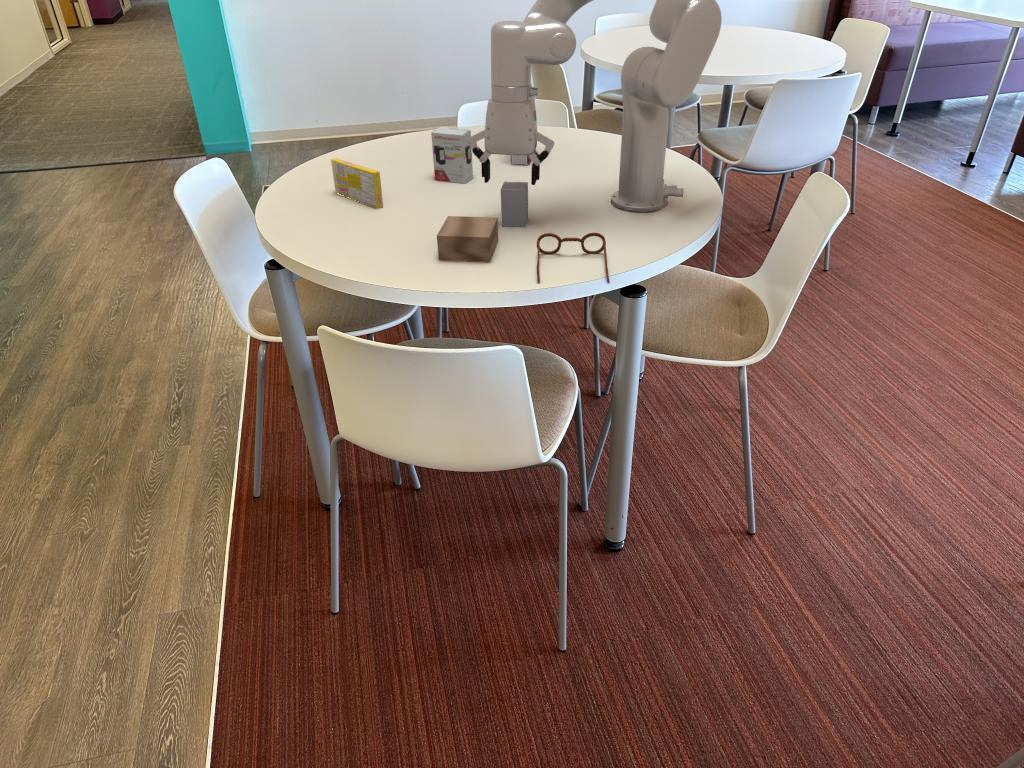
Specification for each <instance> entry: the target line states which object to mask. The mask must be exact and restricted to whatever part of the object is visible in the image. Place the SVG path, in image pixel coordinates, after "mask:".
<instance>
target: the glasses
mask: <svg viewBox="0 0 1024 768" xmlns="http://www.w3.org/2000/svg"><path fill="white" fill-rule="evenodd" d="M547 237H550V238H551V237H552V238H553V239H555V240H557V242H558V244H557V247H556V248H555V249H554V250H551V251H549V250H548V251H547V250H543V249H542V247H541V240H543V239H544V238H547ZM590 237H598V238H599V239H601V241H602V244H601V247H600V248H598V249H597V250H590V249H587V248H586V247H585V240H587V239H588V238H590ZM563 242H578V243H580V246H581V250H582V252H584V253H585V254H588V255H598V254H601V253H602V252H603V256H604V267H605V268H604V269H605V274H606V282H607V284H610V274H609V270H608V256H607V244H606V243H607V240H606V238H605V236H604V235H603V234H602V233H600V232H589V233H586V234H585V235H583V236H582V237H581V238H579V237H563V238H562V237H560V236H559V235H558V234H555V233H554V232H547V233H543V234H541V235H539V237H538V238H537V240H536V248H537V262H536V276H537V277H536V278H537V284H540V285H541V276H540V263H541V262H540V261H541V260H540V253H541V254H542V255H556V254H557V253H559V252H560V250H561V247H562V243H563Z"/></svg>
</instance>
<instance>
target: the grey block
mask: <svg viewBox="0 0 1024 768" xmlns="http://www.w3.org/2000/svg"><path fill="white" fill-rule="evenodd" d="M500 208H501V209H500V210H501V211H500V215H501V228H515V227H517V229H518V228H519V229H520V228H521V229H522V228H523V229H525V228H527V224H528V221H529V182H527V181H503V184H502V186H501V188H500Z"/></svg>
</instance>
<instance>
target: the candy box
mask: <svg viewBox="0 0 1024 768" xmlns="http://www.w3.org/2000/svg"><path fill="white" fill-rule="evenodd" d="M330 161H331V162H330V163H331V171H332V176H333V177H332V178H333V183H334V190H335V194H336V193H339V194H341V195H344V196H346V197H349V198H351V199H353V200H352V201H354V200H356V201H355V202H357V201H359V202H358V203H360V202H361V204H362V203H364V204H363V205H365V204H367V205H366V206H368V205H369V206H368V207H370V208H373V207H374V209H376V208H380V209H382V208H384V202H383V191H382V183H381V173H380V171H379V170H376V169H373V168H369V167H366V166H362V165H359V164H356V163H352V162H349V161H346V160H343V159H340V158H338V157H337V158H331V159H330ZM346 197H345V198H346ZM351 199H350V200H351ZM381 207H382V208H381Z"/></svg>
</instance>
